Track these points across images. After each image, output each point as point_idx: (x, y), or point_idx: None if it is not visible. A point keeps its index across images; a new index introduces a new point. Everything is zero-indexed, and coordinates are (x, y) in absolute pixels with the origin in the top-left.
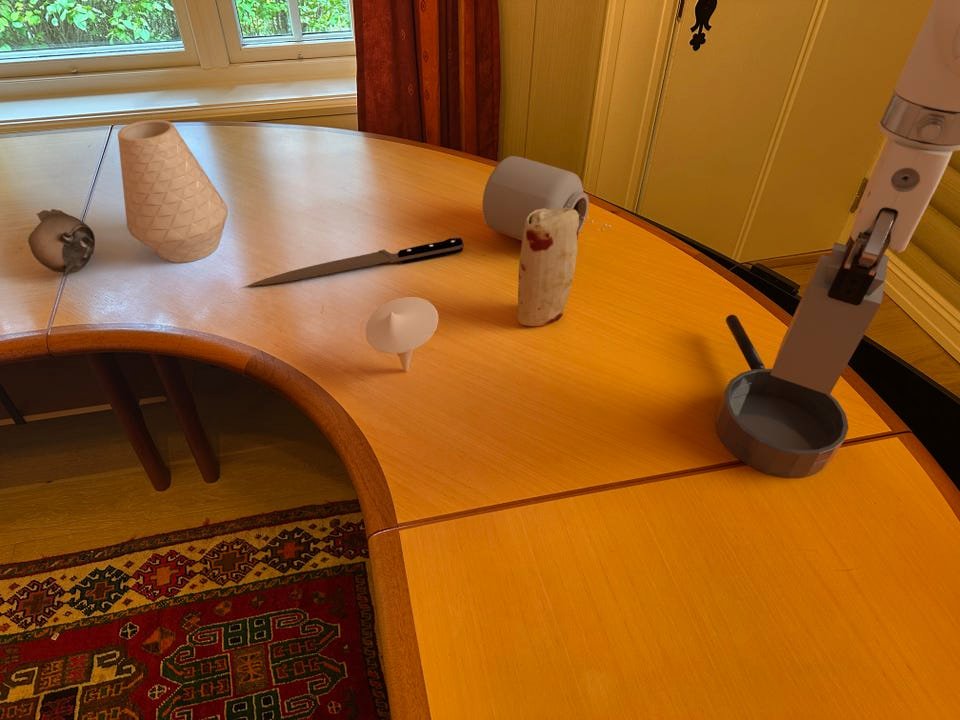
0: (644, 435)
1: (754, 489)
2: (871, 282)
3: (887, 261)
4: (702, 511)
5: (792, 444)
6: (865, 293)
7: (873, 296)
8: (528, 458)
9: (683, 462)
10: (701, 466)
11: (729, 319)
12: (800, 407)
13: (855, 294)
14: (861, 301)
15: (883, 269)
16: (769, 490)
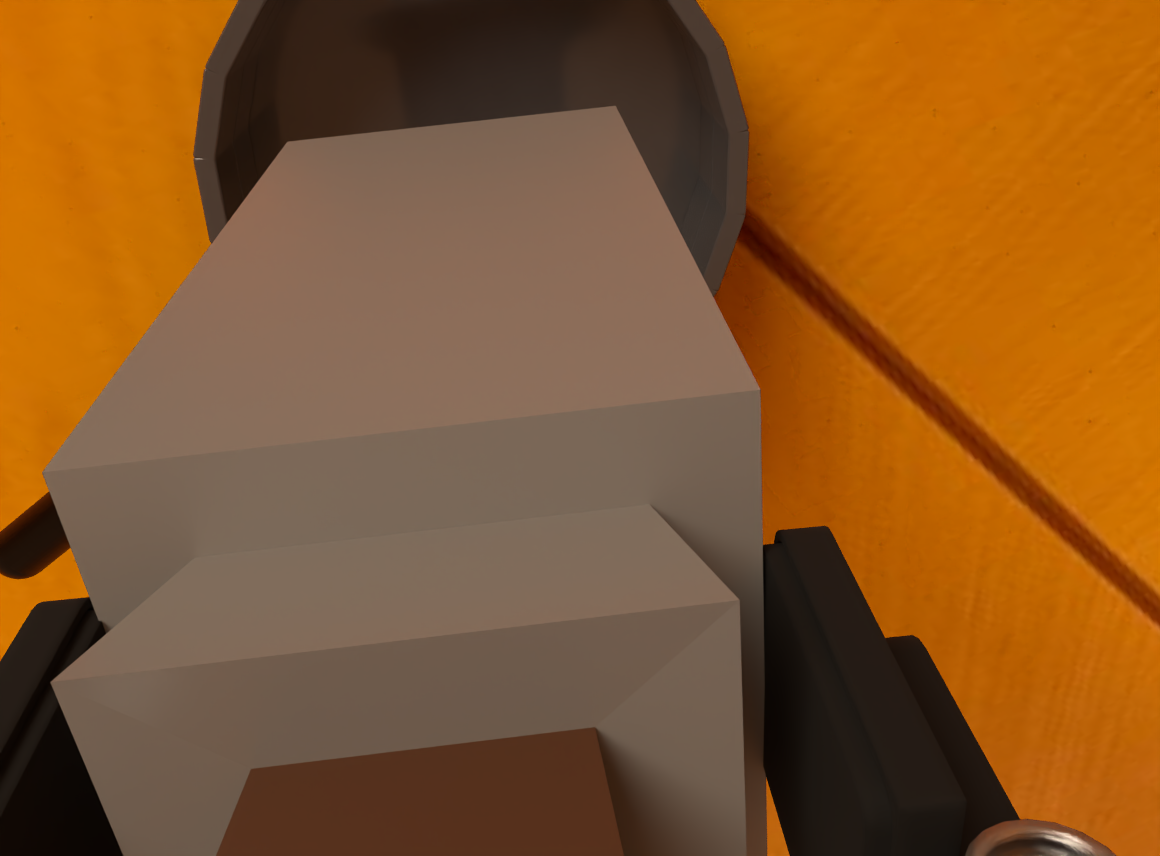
0: (774, 506)
1: (814, 110)
2: (916, 711)
3: (205, 663)
4: (1002, 230)
5: (507, 56)
6: (869, 610)
7: (656, 476)
8: (1037, 702)
9: (822, 361)
10: (807, 306)
11: (42, 567)
12: (257, 93)
13: (934, 671)
14: (835, 546)
15: (450, 657)
16: (789, 59)
